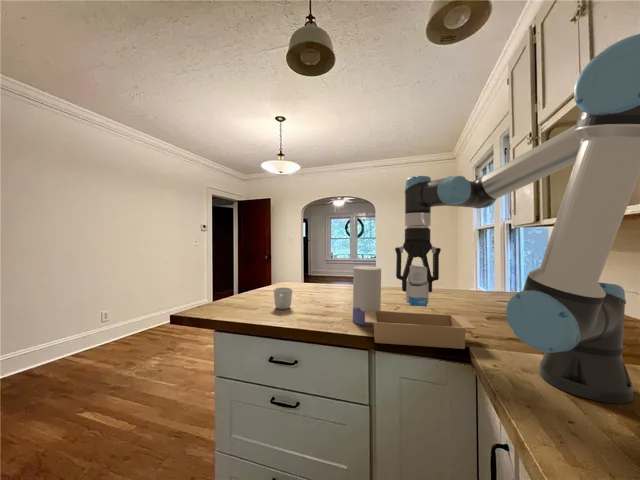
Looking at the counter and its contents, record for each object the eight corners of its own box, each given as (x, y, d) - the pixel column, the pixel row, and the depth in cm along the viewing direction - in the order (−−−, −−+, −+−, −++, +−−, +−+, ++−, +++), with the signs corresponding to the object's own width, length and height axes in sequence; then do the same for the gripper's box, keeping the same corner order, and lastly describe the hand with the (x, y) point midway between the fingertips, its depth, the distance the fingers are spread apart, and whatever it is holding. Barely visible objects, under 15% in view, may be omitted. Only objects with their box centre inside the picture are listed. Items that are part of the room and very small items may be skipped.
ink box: (427, 307, 85) (427, 267, 85) (409, 306, 86) (410, 266, 86) (422, 300, 93) (423, 264, 93) (407, 299, 94) (407, 264, 94)
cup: (290, 312, 116) (290, 292, 116) (270, 312, 116) (270, 292, 116) (293, 305, 127) (293, 287, 127) (275, 305, 127) (275, 287, 127)
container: (385, 321, 106) (386, 267, 105) (370, 328, 98) (371, 270, 98) (362, 316, 112) (363, 265, 112) (347, 321, 105) (348, 267, 104)
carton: (476, 349, 81) (476, 328, 81) (364, 341, 86) (365, 322, 86) (460, 333, 94) (461, 315, 94) (364, 327, 99) (364, 310, 99)
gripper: (444, 227, 91) (443, 300, 92) (386, 227, 94) (386, 298, 95) (451, 227, 84) (450, 306, 84) (388, 227, 87) (387, 303, 87)
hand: (416, 302), depth 89 cm, fingers closed on ink box, 5 cm apart
